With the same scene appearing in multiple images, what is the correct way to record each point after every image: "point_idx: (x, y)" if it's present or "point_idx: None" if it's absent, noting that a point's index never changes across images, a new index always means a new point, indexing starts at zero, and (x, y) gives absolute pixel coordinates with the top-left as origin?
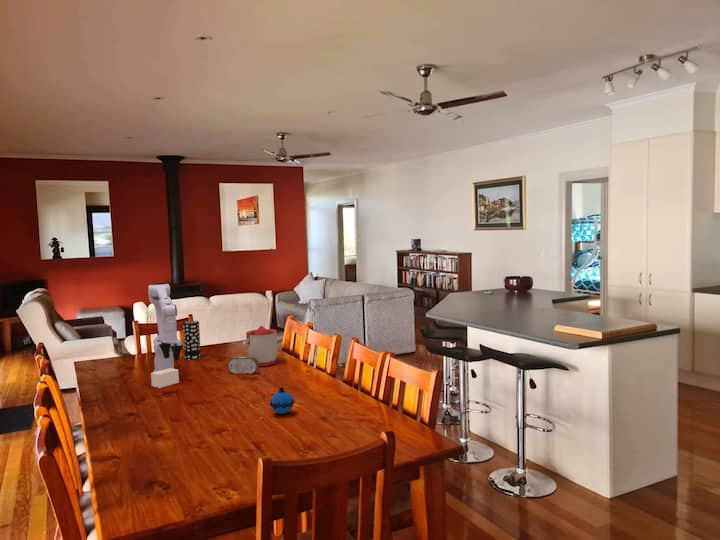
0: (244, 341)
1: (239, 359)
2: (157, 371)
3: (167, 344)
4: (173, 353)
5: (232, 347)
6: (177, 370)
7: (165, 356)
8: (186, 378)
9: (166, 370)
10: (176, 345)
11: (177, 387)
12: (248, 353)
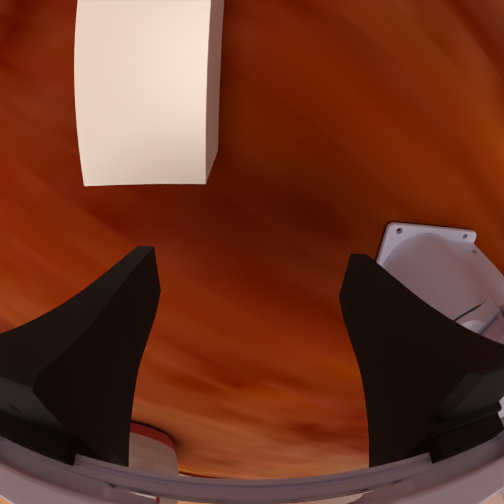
0: (154, 498)
1: None
2: (199, 20)
3: (395, 440)
4: (90, 296)
5: (366, 459)
6: (85, 175)
7: (358, 273)
8: (176, 235)
9: (147, 98)
10: (9, 421)
11: (46, 92)
12: (139, 458)
